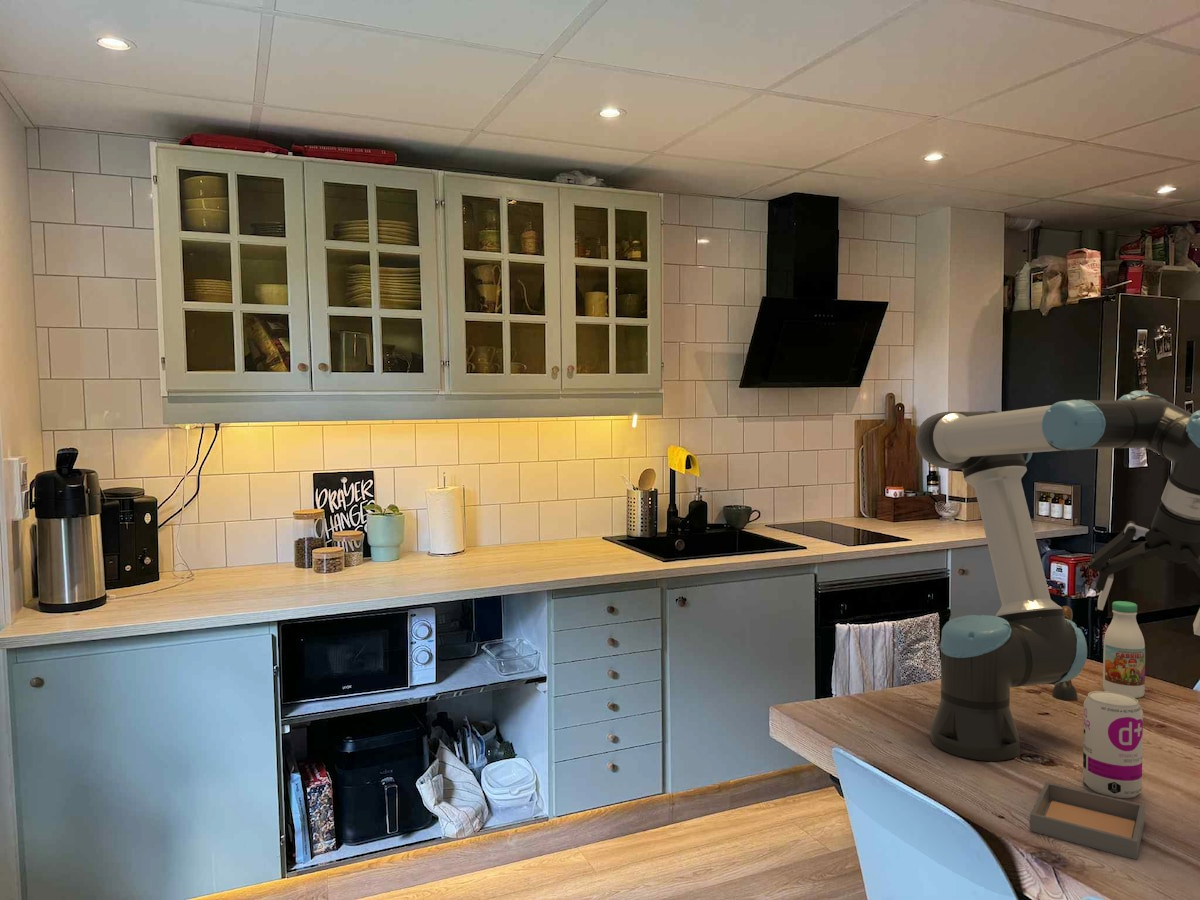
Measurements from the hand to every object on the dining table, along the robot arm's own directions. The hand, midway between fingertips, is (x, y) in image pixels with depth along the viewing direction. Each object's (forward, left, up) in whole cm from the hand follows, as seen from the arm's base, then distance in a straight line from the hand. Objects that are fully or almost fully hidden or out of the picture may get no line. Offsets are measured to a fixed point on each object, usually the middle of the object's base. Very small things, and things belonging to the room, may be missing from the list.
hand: (1147, 617), depth 134 cm
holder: (-13, -19, -28) cm, 36 cm away
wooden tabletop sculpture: (-3, +42, -28) cm, 50 cm away
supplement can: (-6, -4, -28) cm, 29 cm away
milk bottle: (+10, +49, -28) cm, 57 cm away
